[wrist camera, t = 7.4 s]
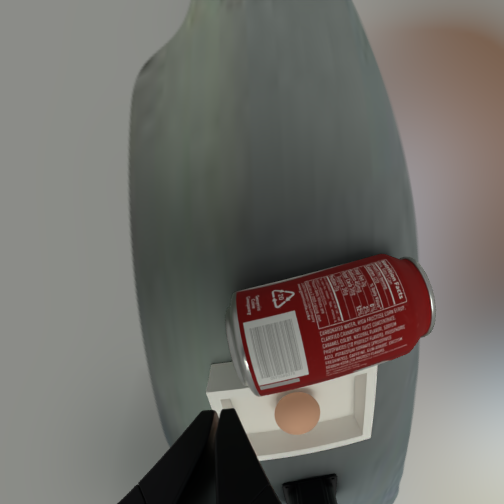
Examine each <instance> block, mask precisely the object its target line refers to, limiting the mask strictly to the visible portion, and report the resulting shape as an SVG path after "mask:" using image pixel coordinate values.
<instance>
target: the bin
mask: <svg viewBox="0 0 504 504" xmlns="http://www.w3.org/2000/svg"><path fill="white" fill-rule="evenodd" d="M376 380H377V365H376V366H373V367H370V368H367V369H364V370H361V371H358V372H355V373H351V374H348V375H345V376H342V377H338V378H335V379H331V380H328V381H324V382H321V383H317V384H313V385H309V386H305V387H301V388H297V389H293V390H289V391H285V392H280V393H275V394H271V395H266V396H261V397H258V396H256V395H255V394H254V393H253V392H252V391H251V390H250V388H249V387H248V386H245V385H243V384H242V382H241V381H240V379H239V377H238V375H237V373H236V370H235V367H234V364H233V362H227V363H219V364H211V368H210V373H209V379H208V384H207V390H206V394H207V397H208V399H209V402H210V405H211V407H212V410H215V411H216V412H217V414H218V417H219V416H220V412H221V410H222V409H228V408H234V409H235V410H236V412H237V414H238V417H239V419H240V421H241V423H242V425H243V428H244V430H245V432H246V434H247V436H248V439H249V441H250V443H251V445H252V447H253V449H254V451H255V453H256V455H257V457H258V459H259V461H262V460H270V459H278V458H285V457H291V456H297V455H302V454H308V453H313V452H318V451H323V450H327V449H331V448H336V447H340V446H344V445H348V444H351V443H355V442H359V441H362V440H366V439H369V438H371V430H372V422H373V414H374V404H375V393H376ZM294 392H303V393H307V394H309V395H311V396H312V397H313V398H314V399H315V400H316V401H317V402H318V404H319V407H320V418H319V421H318V423H317V424H316V426H315V427H314V428H313V429H312V430H310V431H309V432H307V433H304V434H300V435H292V434H289V433H286V432H284V431H283V430H282V429H280V427H279V426H278V425H277V423H276V421H275V416H274V413H275V408H276V405H277V404H278V402H279V401H280V400H281V399H282V398H283V397H284V396H286V395H288V394H290V393H294Z"/></svg>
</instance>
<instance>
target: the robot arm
mask: <svg viewBox="0 0 504 504" xmlns="http://www.w3.org/2000/svg"><path fill="white" fill-rule="evenodd" d="M138 484H139V485H136V486H135V487H134V488H133V489H132V490H131V491H130V492H129V493H128V494H127V495H126V496H125V497H124V498H123V499H122V500H121V501H120V502H119V503H117V504H282V503H281V501H280V500H279V498H278V496H277V495H276V493H275V491H274V489H273V487H272V485H271V484H270V482H269V480H268V478H267V476H266V474H265V472H264V470H263V468H262V466H261V464H260V462H259V459H258V457H257V455H256V453H255V451H254V449H253V447H252V445H251V443H250V441H249V439H248V436H247V434H246V432H245V430H244V428H243V425H242V423H241V421H240V419H239V417H238V414H237V412H236V410H235V409H234V408H228V409H222V410H221V412H220V416H219V417H218V414H217V412H216V411H215V410H204V411H201V412H200V413H199V415H198V416H197V417H196V418H195V419H194V421H193V422H192V423H191V424H190V425H189V427H188V428H187V429H186V430H185V431H184V432H183V434H182V435H181V436H180V437H179V438H178V439H177V441H176V442H175V443H174V444H173V445H172V446H171V447H170V449H169V450H168V451H167V452H166V453H165V454H164V456H162V458H161V459H160V460H159V461H158V462H157V463H156V464H155V466H154V467H153V468H152V469H151V470H150V471H149V472H148V473H147V474H146V475H145V476H144V477H143V479H142V480H141V481H140V482H139V483H138ZM282 486H283V491H284V495H285V499H286V502H287V504H337V500H336V487H337V476H336V474H331V475H327V476H322V477H317V478H312V479H307V480H301V481H296V482H289V483H284V484H283V485H282Z"/></svg>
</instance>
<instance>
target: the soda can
mask: <svg viewBox="0 0 504 504" xmlns="http://www.w3.org/2000/svg"><path fill="white" fill-rule="evenodd" d="M435 317H436V306H435V299H434V294H433V290H432V287H431V284H430V282H429V279H428V277H427V275H426V273H425V271H424V270H423V268H422V267H421V265H420V264H419V263H418V262H417V261H416V260H415V259H413V258H411V257H402V258H400V259H397V258H394V257H391V256H389V255H386V254H378V255H374V256H371V257H367V258H364V259H360V260H357V261H353V262H349V263H346V264H342V265H338V266H335V267H331V268H327V269H323V270H320V271H316V272H312V273H308V274H304V275H301V276H297V277H293V278H289V279H285V280H281V281H277V282H273V283H269V284H265V285H261V286H257V287H253V288H249V289H244V290H240V291H236V292H234V293H233V295H232V298H231V303H230V307H228V308H227V310H226V314H225V325H226V334H227V340H228V345H229V350H230V354H231V358H232V361H233V364H234V367H235V370H236V373H237V375H238V377H239V379H240V381H241V382H242V384H243V385H245V386H248V387H249V388H250V390H251V391H252V392H253V393H254V394H255V395H256V396H258V397H261V396H266V395H271V394H275V393H280V392H285V391H289V390H293V389H297V388H301V387H305V386H309V385H313V384H317V383H321V382H324V381H328V380H331V379H335V378H338V377H342V376H345V375H348V374H351V373H355V372H358V371H361V370H364V369H367V368H370V367H373V366H376V365H379V364H381V363H384V362H387V361H390V360H392V359H395V358H398V357H400V356H403V355H405V354H407V353H409V352H410V351H411V350H412V349H413V348H414V346H415V345H416V343H417V342H418V340H419V339H420V337H425V336H427V335H428V334H430V333H431V331H432V329H433V327H434V324H435Z"/></svg>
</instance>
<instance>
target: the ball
mask: <svg viewBox="0 0 504 504" xmlns="http://www.w3.org/2000/svg"><path fill="white" fill-rule="evenodd" d="M274 416H275V421H276V423H277V425H278V426H279V427H280V429H282V430H283V431H284V432H286V433H289V434H292V435H300V434H304V433H307V432H309V431H310V430H312V429H313V428H314V427H315V426H316V424H317V423H318V421H319V418H320V407H319V404H318V402H317V401H316V400H315V399H314V398H313V397H312V396H311V395H309V394H307V393H303V392H294V393H290V394H288V395H286V396H284V397H283V398H282V399H281V400H280V401H279V402H278V404H277V405H276V408H275V413H274Z"/></svg>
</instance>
